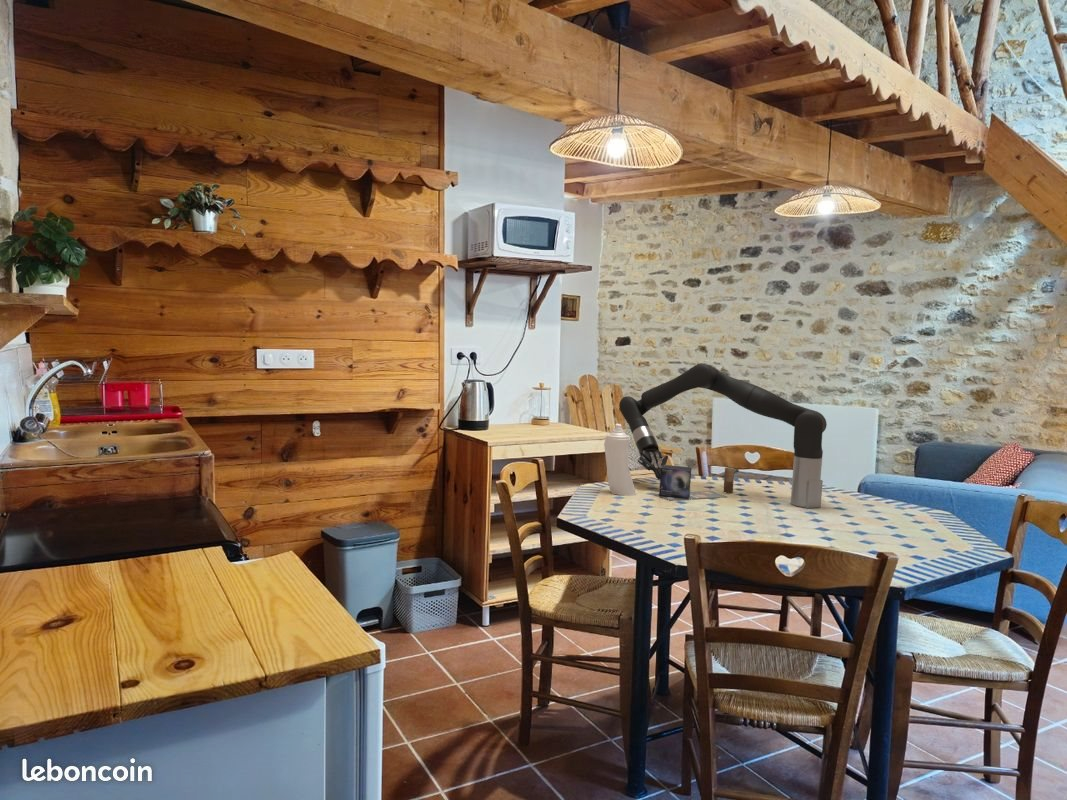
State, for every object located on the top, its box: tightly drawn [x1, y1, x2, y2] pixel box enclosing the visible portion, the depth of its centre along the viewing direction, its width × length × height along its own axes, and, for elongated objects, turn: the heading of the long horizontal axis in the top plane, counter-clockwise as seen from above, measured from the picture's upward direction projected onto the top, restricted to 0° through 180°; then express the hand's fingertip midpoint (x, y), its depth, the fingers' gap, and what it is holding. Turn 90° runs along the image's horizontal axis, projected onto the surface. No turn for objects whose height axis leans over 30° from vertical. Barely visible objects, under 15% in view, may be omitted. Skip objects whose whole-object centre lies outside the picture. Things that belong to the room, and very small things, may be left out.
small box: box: [658, 464, 693, 499], centre depth 250 cm, size 11×6×10 cm, turn 73°
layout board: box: [653, 490, 728, 502], centre depth 253 cm, size 10×25×1 cm, turn 113°
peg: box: [722, 467, 735, 494], centre depth 262 cm, size 3×3×9 cm
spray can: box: [603, 423, 637, 497], centre depth 253 cm, size 12×11×25 cm
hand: (661, 478), depth 258 cm, fingers closed
